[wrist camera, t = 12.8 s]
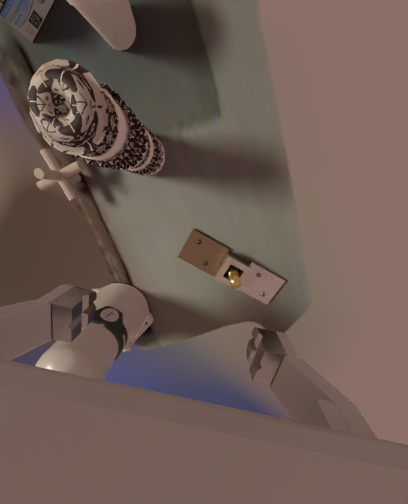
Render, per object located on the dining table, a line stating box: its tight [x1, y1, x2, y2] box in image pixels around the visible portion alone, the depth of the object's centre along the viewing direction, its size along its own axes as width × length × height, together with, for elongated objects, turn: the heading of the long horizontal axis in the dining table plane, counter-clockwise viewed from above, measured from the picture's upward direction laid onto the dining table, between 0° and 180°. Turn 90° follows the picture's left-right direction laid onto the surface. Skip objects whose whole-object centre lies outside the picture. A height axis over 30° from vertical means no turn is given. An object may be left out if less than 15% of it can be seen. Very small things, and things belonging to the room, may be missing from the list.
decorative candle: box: [28, 59, 165, 176], centre depth 29 cm, size 9×9×25 cm
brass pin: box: [227, 265, 241, 289], centre depth 44 cm, size 2×2×9 cm
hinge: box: [178, 229, 285, 305], centre depth 46 cm, size 26×8×4 cm, turn 61°
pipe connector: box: [34, 148, 84, 201], centre depth 39 cm, size 10×10×10 cm
